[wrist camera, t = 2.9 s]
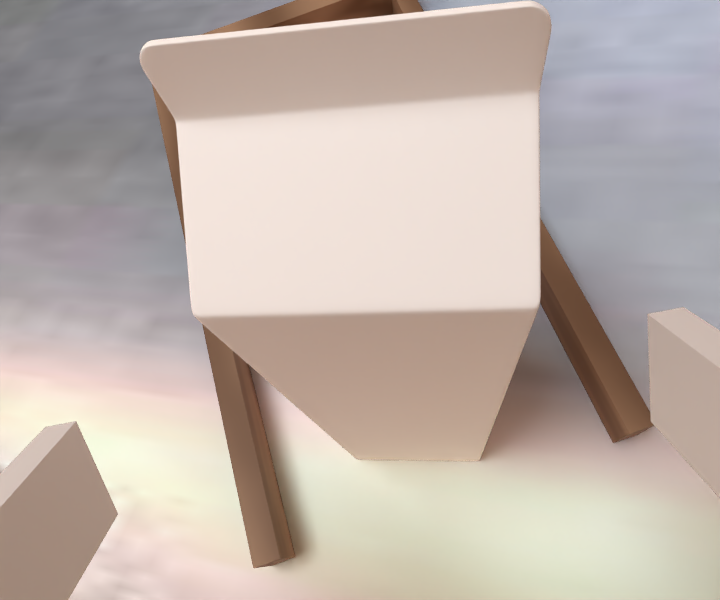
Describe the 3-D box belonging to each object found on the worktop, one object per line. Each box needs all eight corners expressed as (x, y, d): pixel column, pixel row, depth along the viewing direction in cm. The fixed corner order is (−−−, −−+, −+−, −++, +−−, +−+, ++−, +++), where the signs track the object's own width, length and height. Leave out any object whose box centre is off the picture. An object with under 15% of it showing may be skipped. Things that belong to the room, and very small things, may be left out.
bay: (403, 3, 39) (399, -38, 36) (637, 434, 25) (660, 421, 22) (164, 89, 39) (143, 55, 36) (270, 565, 25) (249, 569, 23)
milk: (480, 462, 26) (600, 207, 6) (353, 460, 27) (75, 233, 7) (473, 339, 28) (542, -142, 8) (357, 341, 29) (162, -88, 9)
